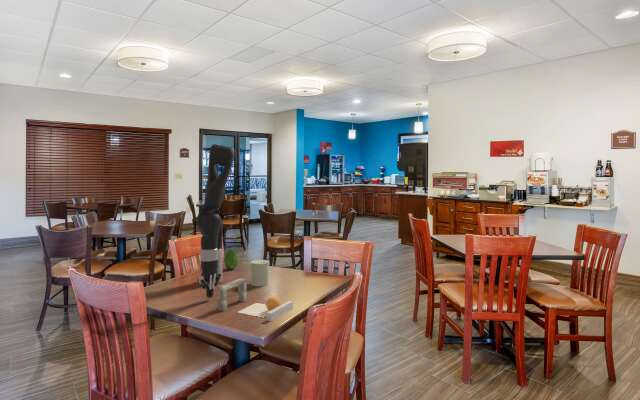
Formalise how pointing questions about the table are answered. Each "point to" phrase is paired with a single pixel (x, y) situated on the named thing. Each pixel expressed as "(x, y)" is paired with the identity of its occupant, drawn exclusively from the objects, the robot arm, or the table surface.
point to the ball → (272, 303)
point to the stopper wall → (279, 310)
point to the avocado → (231, 259)
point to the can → (260, 273)
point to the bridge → (223, 288)
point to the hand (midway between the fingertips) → (210, 297)
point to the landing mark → (255, 310)
